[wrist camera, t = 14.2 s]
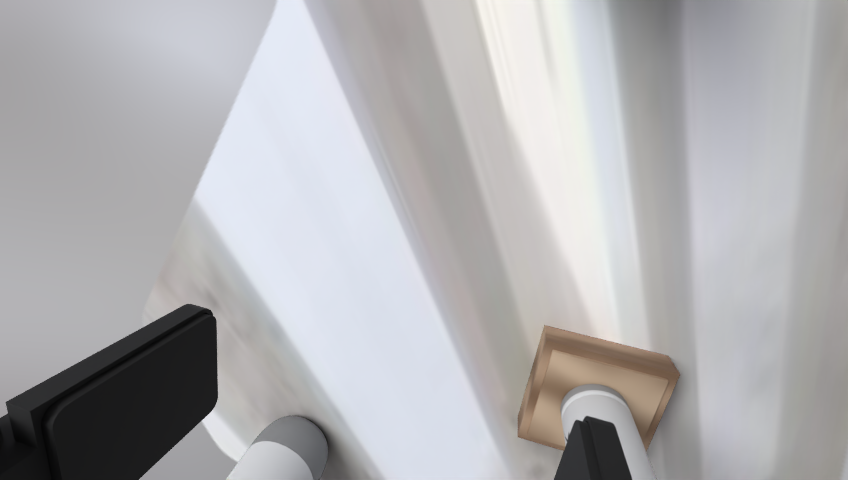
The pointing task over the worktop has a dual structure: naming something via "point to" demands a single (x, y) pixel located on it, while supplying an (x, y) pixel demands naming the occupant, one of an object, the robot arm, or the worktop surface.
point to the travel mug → (611, 409)
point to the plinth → (592, 364)
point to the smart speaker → (284, 452)
